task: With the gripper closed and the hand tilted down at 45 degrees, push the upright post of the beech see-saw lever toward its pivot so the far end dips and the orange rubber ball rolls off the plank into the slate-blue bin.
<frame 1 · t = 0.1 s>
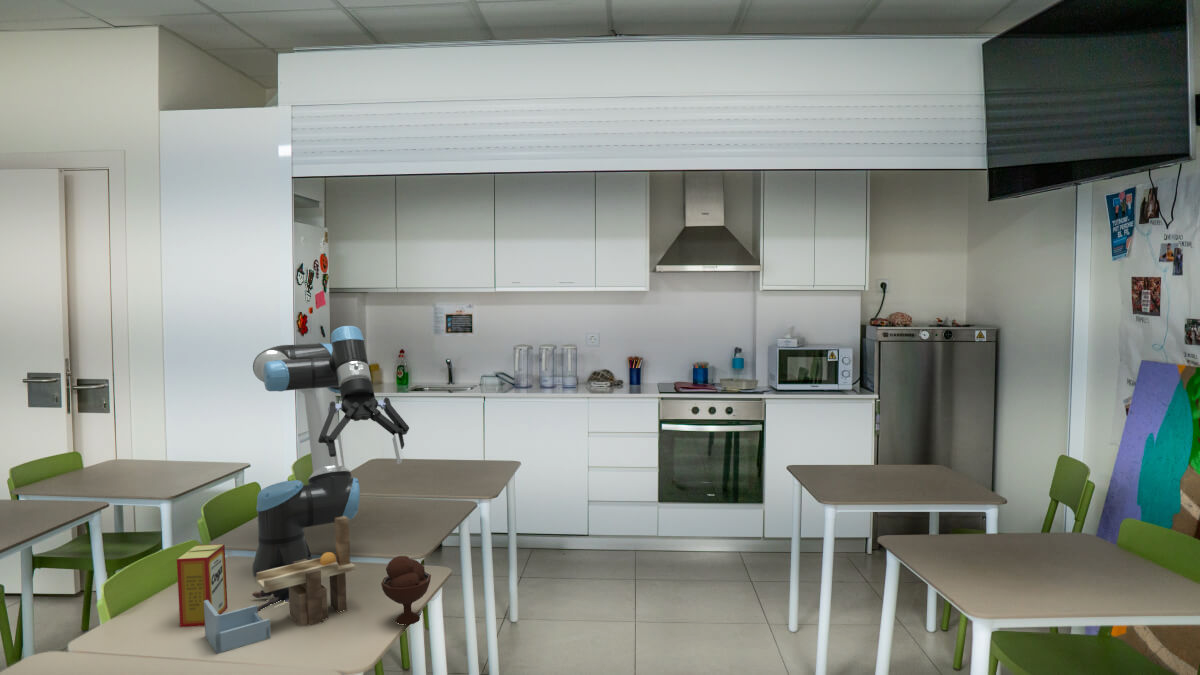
hand: (370, 465, 164), 36 cm above the table, tool tilted 35°, fingers open, 13 cm apart
lever: (305, 551, 167), point 15 cm above the table, hinge at 0.0°, touching ball
stand: (308, 616, 168), on the table
stuffed animal: (277, 601, 179), on the table
baking soda box: (204, 618, 169), on the table
ball: (328, 559, 170), point 12 cm above the table, touching lever
ice cream bowl: (407, 620, 165), on the table
bin: (237, 637, 158), on the table
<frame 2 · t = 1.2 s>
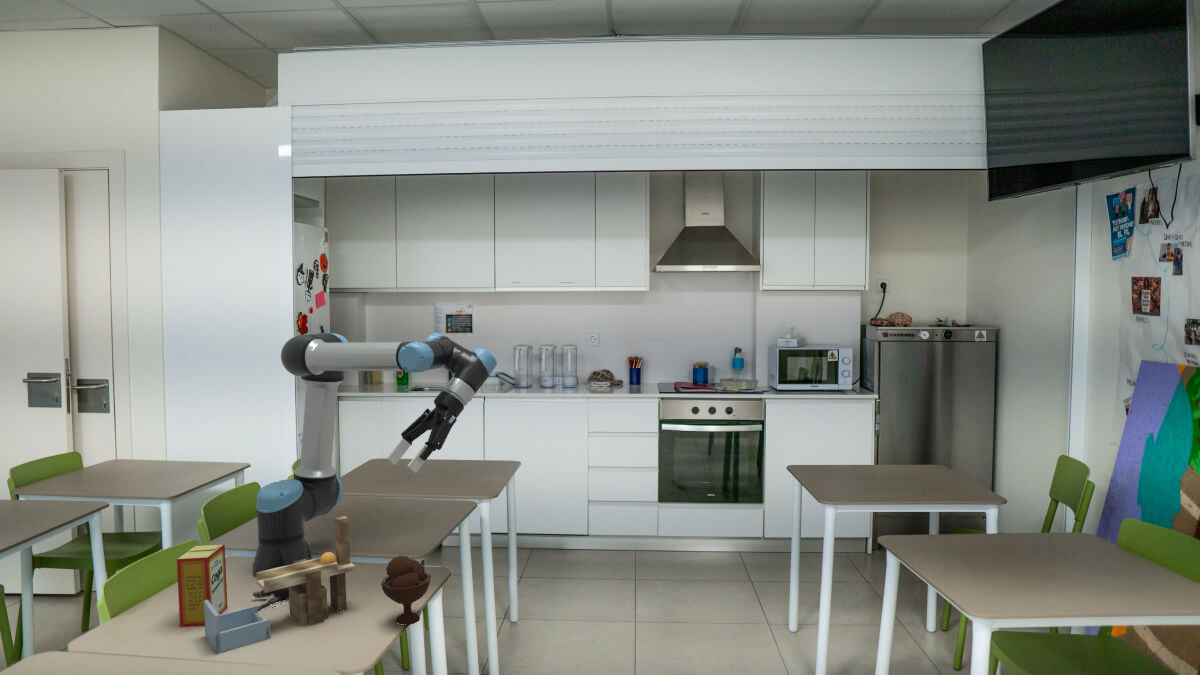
hand: (400, 465, 182), 32 cm above the table, tool tilted 45°, fingers open, 12 cm apart
nothing on the table moved.
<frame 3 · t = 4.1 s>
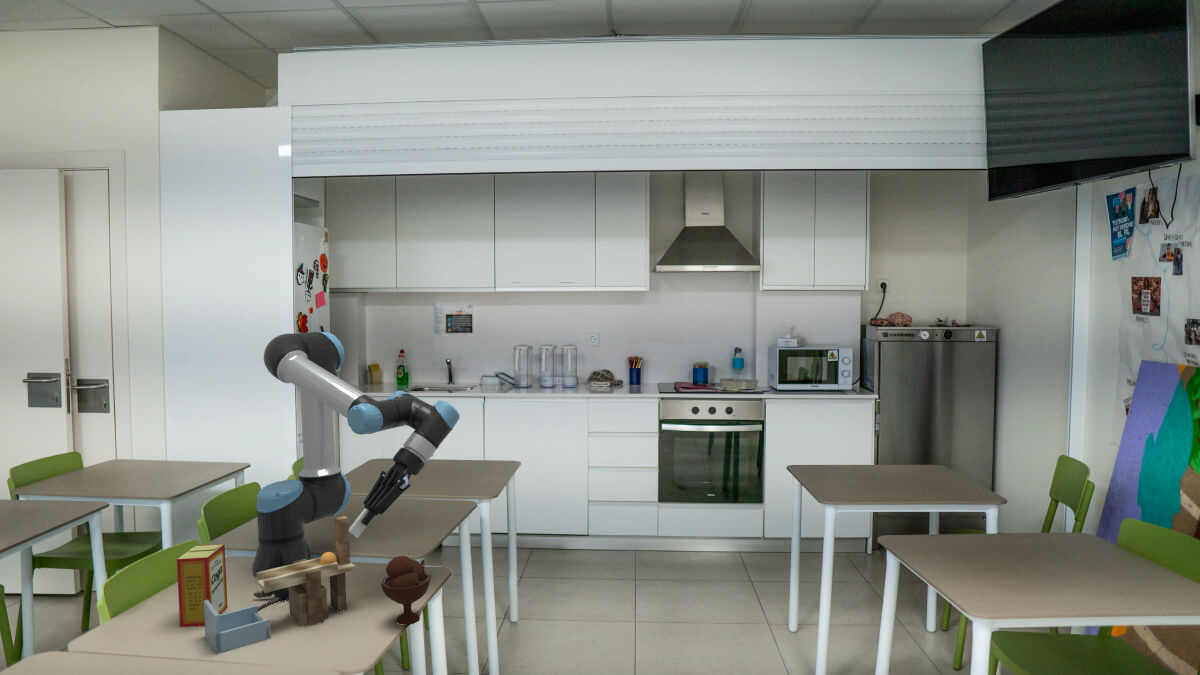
hand: (352, 534, 174), 17 cm above the table, tool tilted 45°, fingers closed
lever: (305, 551, 167), point 15 cm above the table, hinge at 0.1°, touching ball, gripper
everything else where it was.
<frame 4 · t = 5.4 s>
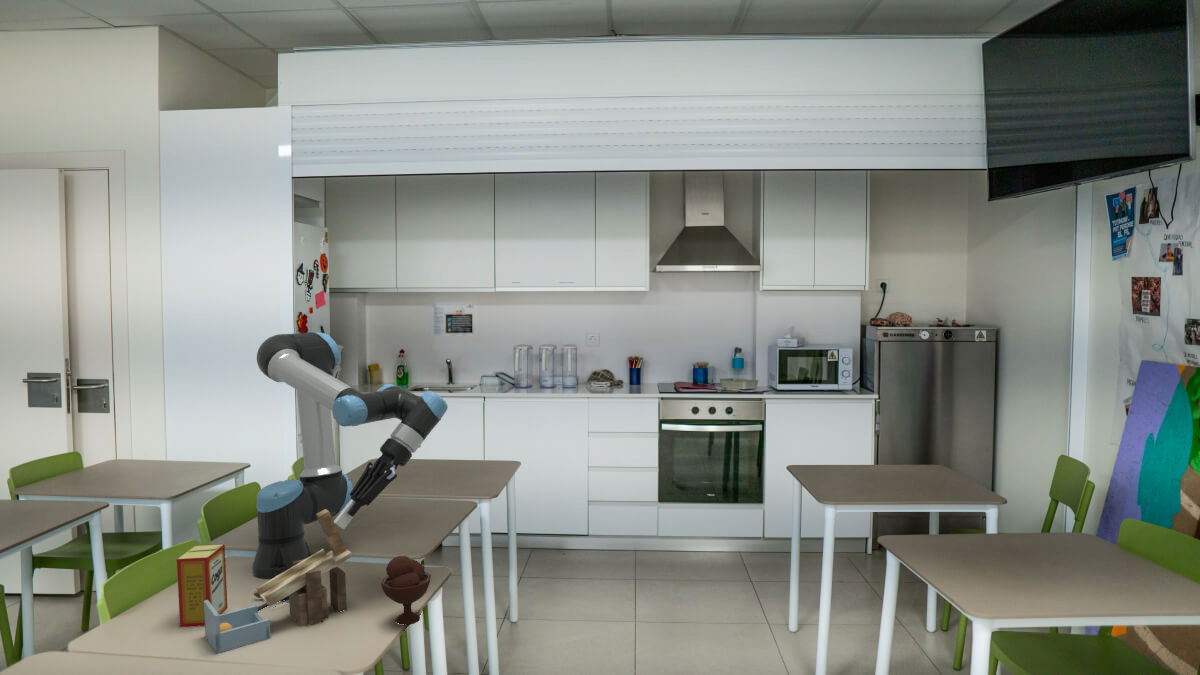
hand: (338, 525, 172), 20 cm above the table, tool tilted 45°, fingers closed
lever: (297, 554, 166), point 15 cm above the table, hinge at 20.0°, touching gripper
ball: (223, 631, 156), point 2 cm above the table, tilted 59°, touching bin
everything else where it was.
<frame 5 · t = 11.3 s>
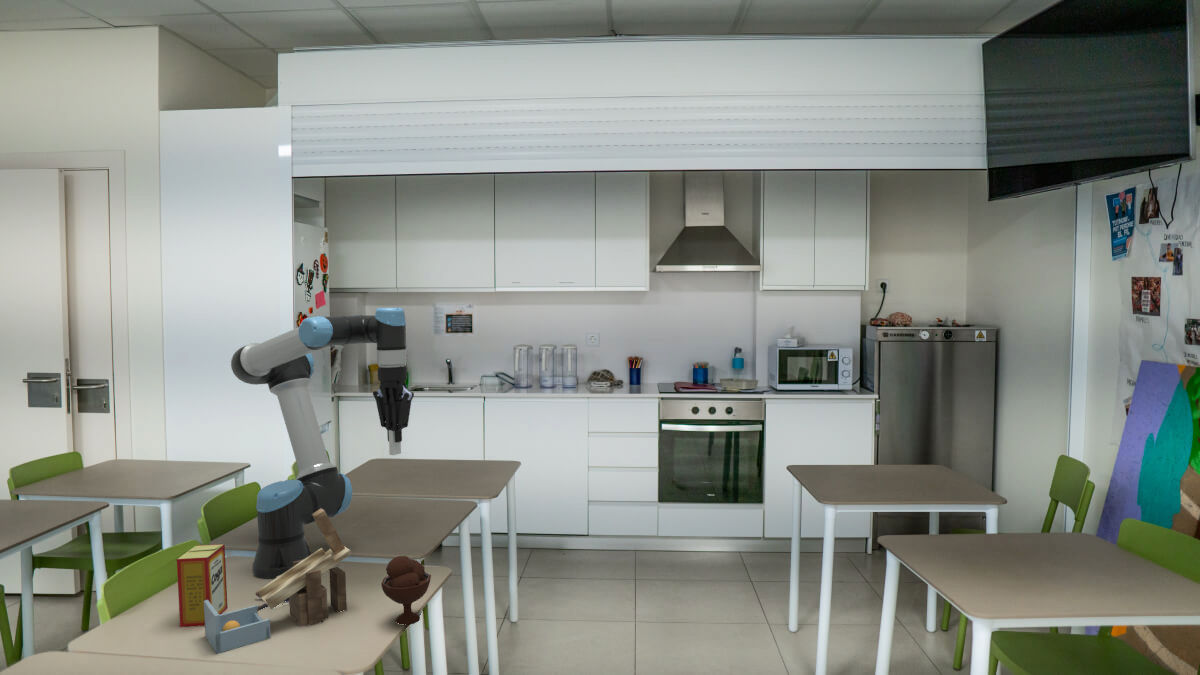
hand: (395, 454, 192), 32 cm above the table, tool pointing down, fingers closed
lever: (296, 555, 166), point 15 cm above the table, hinge at 24.0°
ball: (231, 629, 157), point 2 cm above the table, tilted 9°, touching bin
everything else where it was.
at the end: ball 1.2 cm from the bin (horizontally); ball point 2.1 cm above the table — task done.
